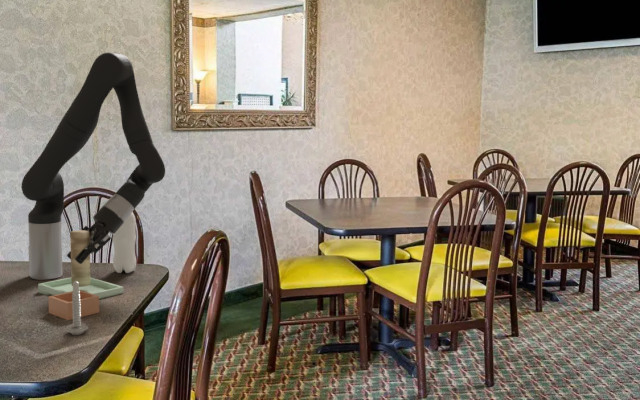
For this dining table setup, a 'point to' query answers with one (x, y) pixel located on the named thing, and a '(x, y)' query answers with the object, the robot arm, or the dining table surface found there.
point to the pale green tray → (95, 287)
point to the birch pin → (77, 245)
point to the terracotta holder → (63, 304)
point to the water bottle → (125, 246)
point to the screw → (76, 313)
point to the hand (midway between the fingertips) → (73, 259)
